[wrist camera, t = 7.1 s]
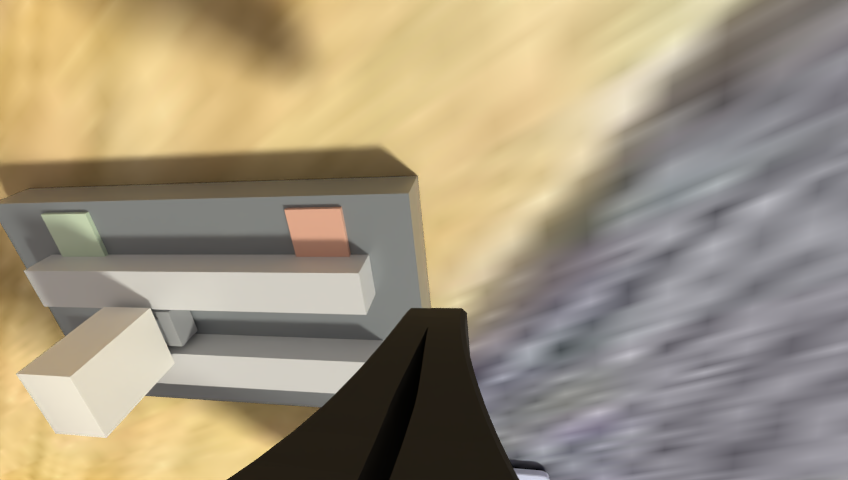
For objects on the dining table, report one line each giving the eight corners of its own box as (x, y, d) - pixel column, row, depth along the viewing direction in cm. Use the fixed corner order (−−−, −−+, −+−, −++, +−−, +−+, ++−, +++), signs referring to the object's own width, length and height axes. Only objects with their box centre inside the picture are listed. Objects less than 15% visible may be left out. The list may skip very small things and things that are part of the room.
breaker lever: (180, 286, 21) (77, 377, 16) (201, 339, 23) (112, 438, 18) (125, 285, 22) (9, 373, 17) (149, 337, 23) (49, 432, 18)
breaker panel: (417, 175, 19) (400, 209, 16) (439, 385, 25) (429, 440, 22) (29, 188, 23) (-45, 217, 20) (122, 368, 28) (76, 413, 25)
